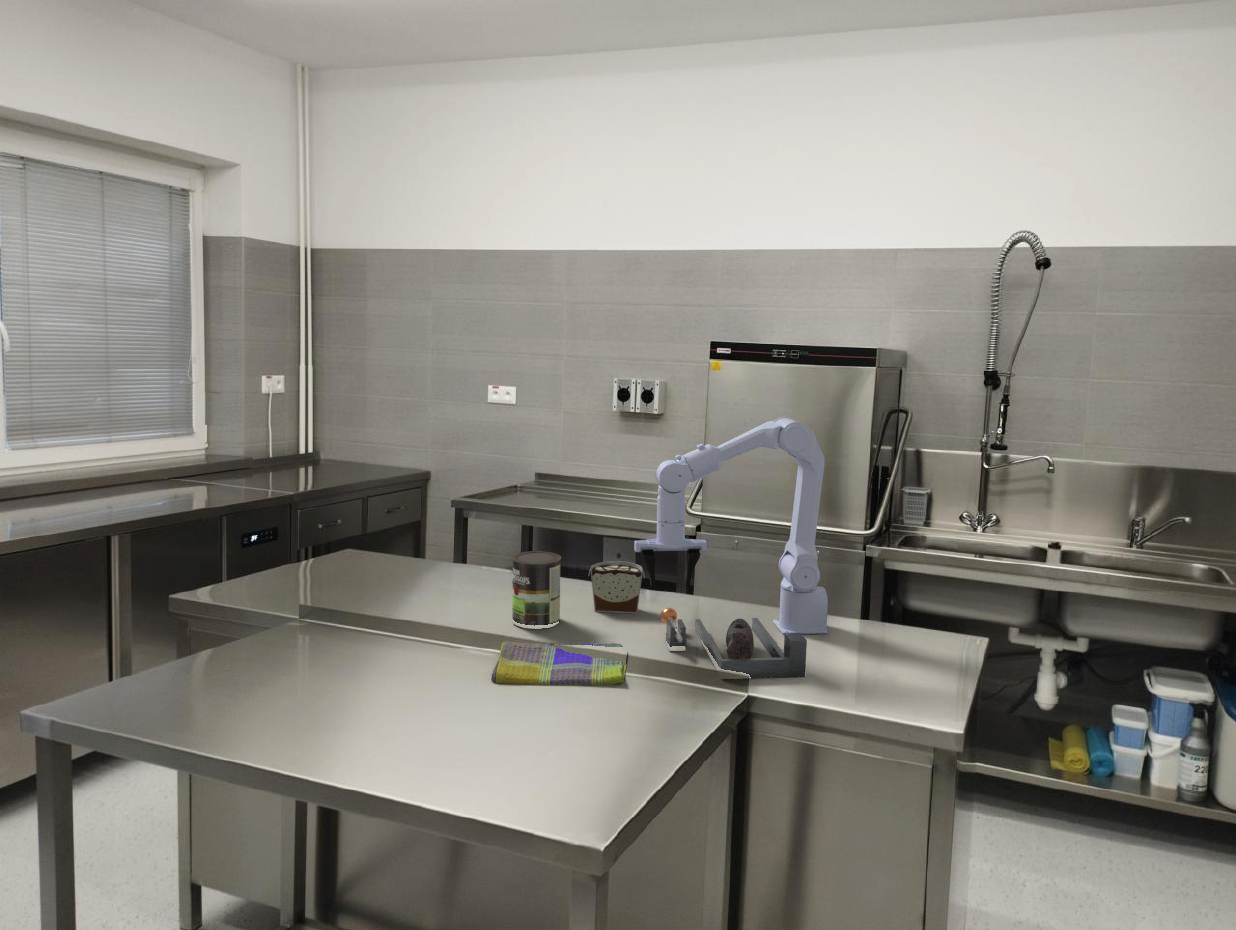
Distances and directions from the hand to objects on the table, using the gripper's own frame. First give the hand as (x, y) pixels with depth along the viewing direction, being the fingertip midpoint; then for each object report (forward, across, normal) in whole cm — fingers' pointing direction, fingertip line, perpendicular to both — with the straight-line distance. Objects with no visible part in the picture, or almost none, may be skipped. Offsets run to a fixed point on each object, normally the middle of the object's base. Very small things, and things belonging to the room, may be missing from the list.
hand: (669, 585), depth 193 cm
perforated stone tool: (+10, -12, +14) cm, 21 cm away
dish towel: (+11, +23, +18) cm, 31 cm away
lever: (+8, 0, +6) cm, 10 cm away
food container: (+10, +9, -16) cm, 21 cm away
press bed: (+10, -10, +13) cm, 19 cm away
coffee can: (+10, +27, -8) cm, 30 cm away
